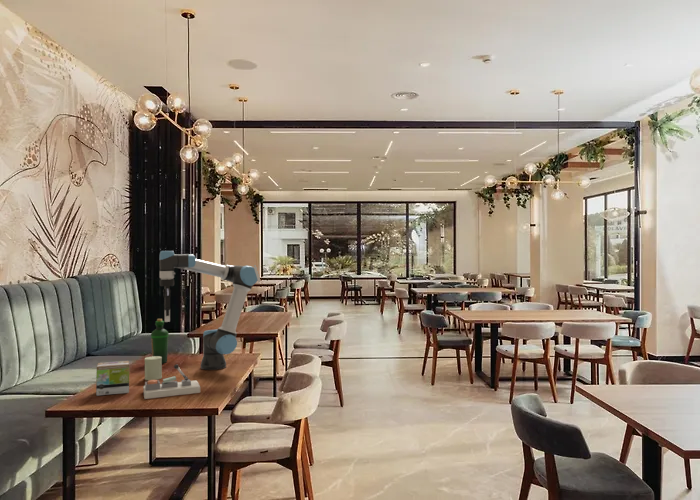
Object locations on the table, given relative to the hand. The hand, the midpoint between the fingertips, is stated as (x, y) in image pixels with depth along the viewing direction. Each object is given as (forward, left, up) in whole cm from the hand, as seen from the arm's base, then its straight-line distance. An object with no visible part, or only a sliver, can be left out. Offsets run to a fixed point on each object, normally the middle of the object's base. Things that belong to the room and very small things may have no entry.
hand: (167, 321), depth 281 cm
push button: (+9, +26, -29) cm, 40 cm away
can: (+7, -9, -33) cm, 35 cm away
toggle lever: (-7, +26, -26) cm, 38 cm away
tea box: (+27, +13, -33) cm, 44 cm away
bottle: (+1, -51, -33) cm, 61 cm away
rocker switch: (+1, +26, -26) cm, 37 cm away
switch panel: (0, +26, -32) cm, 42 cm away
